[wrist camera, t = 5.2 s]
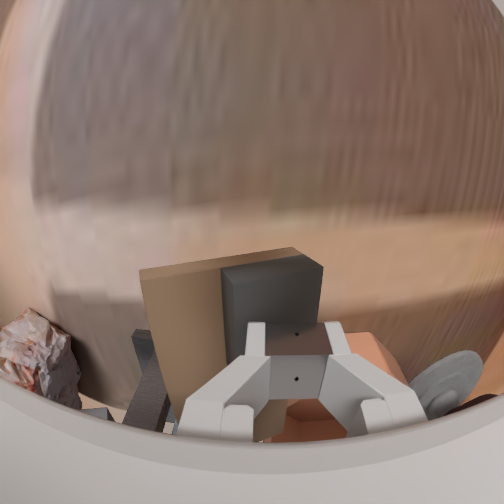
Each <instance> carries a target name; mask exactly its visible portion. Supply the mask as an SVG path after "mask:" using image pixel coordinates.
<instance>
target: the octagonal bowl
mask: <svg viewBox="0 0 504 504" xmlns="http://www.w3.org/2000/svg"><path fill="white" fill-rule="evenodd" d="M345 336H346V339H347V342H348V344H349V347H350V349H351V352H352V353H357V354H358V355H360V356H361V357H363V358H365V359H366V360H368V361H369V362H371V363H372V364H374V365H375V366H377V367H378V368H380V369H381V370H383V371H384V372H386V373H387V374H389V375H390V376H392V377H394V378H395V379H397V380H398V381H400V382H401V383H403V384H404V385H406V386H408V387H409V385H408V383H407V381H406V379H405V377H404V375H403V373H402V371H401V369H400V367H399V365H398V363H397V361H396V359H395V358H394V357H393V356H392V355H391V353H390V352H389V351H388V350H387V349H386V348H385V347H384V346H383V345H382V344H381V343H380V341H379V340H378V339H377V338H376V337H375V336H374V335H373V334H372V333H369V332H361V333H346V334H345ZM409 388H410V387H409ZM347 433H348V431H347V430H346V429H345V428H344V427H343V426H342V425H341V424H340V423H339V422H338V420H337V419H336V418H335V417H334V416H333V415H332V414H331V413H330V412H329V411H328V410H327V409H326V408H325V406H324V405H323V404H322V403H321V402H320V401H319V400H318V398H313V399H288V404H287V410H286V417H285V423H284V430H283V433H281V434H278V435H276V436H273V437H270V438H267V439H265V440H263V443H284V442H308V441H322V440H332V439H341V438H345V437H346V435H347Z"/></svg>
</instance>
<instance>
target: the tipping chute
mask: <svg viewBox="0 0 504 504" xmlns="http://www.w3.org/2000/svg"><path fill="white" fill-rule="evenodd" d="M139 273H140V283H141V289H142V294H143V299H144V304H145V309H146V313H147V318H148V322H149V327H150V331H151V335H152V339H153V343H154V347H155V351H156V355H157V358H158V362H159V366H160V369H161V373H162V376H163V380H164V383H165V386H166V389H167V393H168V396H169V399H170V402H171V405H172V408H173V411H174V414H175V417H176V420H177V422H178V425H179V423H180V419H181V416H182V412H183V409H184V405H185V402H186V399H187V398H188V397H190V396H191V395H192V394H193V393H195V392H196V391H197V390H198V389H200V388H201V387H202V386H203V385H205V384H206V383H207V382H208V381H210V380H211V379H212V378H213V377H215V376H216V375H217V374H218V373H220V372H221V371H222V370H223V369H224V368H226V367H227V366H228V365H229V364H230V363H232V362H233V361H234V360H235V359H236V358H237V357H239V356H240V355H245V348H246V338H247V328H248V323H249V322H278V323H317V316H318V308H319V301H320V293H321V285H322V276H323V266H321V265H320V264H318V263H317V262H315V261H313V260H312V259H310V258H309V257H307V256H306V255H304V254H302V253H301V252H299V251H298V250H296V249H295V248H293V247H288V248H281V249H275V250H268V251H262V252H255V253H249V254H242V255H235V256H229V257H222V258H216V259H209V260H202V261H196V262H189V263H183V264H176V265H169V266H163V267H156V268H150V269H143V270H139ZM287 404H288V399H273V400H268V402H267V403H266V405H265V406H264V407H263V409H262V410H261V411H260V413H259V414H258V415H257V416H256V418H255V419H254V425H253V442H259V441H261V440H265V439H267V438H270V437H273V436H276V435H278V434H281V433H283V430H284V423H285V417H286V410H287ZM78 411H81V412H84V413H87V414H90V415H93V416H96V417H99V418H103V419H106V420H110V421H113V422H115V421H114V419H113V417H112V416H111V414H110V412H109V410H108V409H107V407H106V408H94V409H81V410H78Z"/></svg>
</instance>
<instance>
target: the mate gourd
mask: <svg viewBox="0 0 504 504" xmlns="http://www.w3.org/2000/svg"><path fill="white" fill-rule="evenodd" d="M482 369H483V363H482V360H481V358H480V356H479V355H478V354H477V353H475V352H474V351H469V350H466V351H460V352H457V353H453V354H451V355H449V356H447V357H444V358H442V359H441V360H439V361H437V362H436V363H434V364H432V365H431V366H429V367H428V368H427V369H425V370H424V371H422V372H421V373H420V374H419V375H418V376H416V377H415V378H414V379H413V380H412V381H411V382H410V383H409V384H408V385H409V387H410V388H411V389H412V390H414V391H415V393H416V395H417V397H418V400H419V402H420V404H421V406H422V408H423V410H424V412H425V415H426V417H427V419H428V421H430V420H434V419H437V418H440V417H443V416H446V415H449V414H452V413H455V412H458V411H461V410H464V409H466V408H469V407H472V406H474V405H477V404H479V403H482V402H484V401H486V400H489V399H491V398H493V397H496V396H498V395H494V394H485V395H482V396H479V397H477V398H475V399H473V400H471V401H469V402H467V403H465V404H463V405H461V406H459V404H460V403H462V402H463V401H464V400H465V399H466V397H467V396H468V395H469V394H470V393H471V391H472V390H473V389H474V387H475V386H476V384H477V382H478V380H479V378H480V376H481V373H482Z"/></svg>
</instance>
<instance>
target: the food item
mask: <svg viewBox="0 0 504 504" xmlns="http://www.w3.org/2000/svg"><path fill="white" fill-rule="evenodd" d="M1 329H2V330H1V331H0V376H1V377H3V378H5V379H7V380H9V381H11V382H13V383H15V384H17V385H19V386H21V387H23V388H25V389H27V390H29V391H31V392H33V393H35V394H38V395H40V396H42V397H45V398H47V399H49V400H52V401H54V402H57V403H59V404H62V405H64V406H67V407H70V408H72V409H75V410H81V409H82V402H81V400H80V397H79V395H78V387H77V383H78V381H79V379H80V377H81V374H82V372H81V371H80V369H79V366H78V365H77V361H76V359H75V356H74V354H73V352H72V351H71V336H70V335H68V334H65V333H64V332H63V331H62V330H60V329H59V328H58V327H56V326H55V325H53V324H52V323H50V322H49V321H48V320H46V319H45V318H43V317H42V316H40V315H38V314H37V313H36V312H35V311H34V310H32V309H30V308H28V309H27V310H26V311H25V312H24V313H23V314H22V315H20V316H19V317H18V318H16V319H15V320H13V321H12V322H10V324H8V325H7V326H6V327H5V326H3V327H2V328H1Z"/></svg>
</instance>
